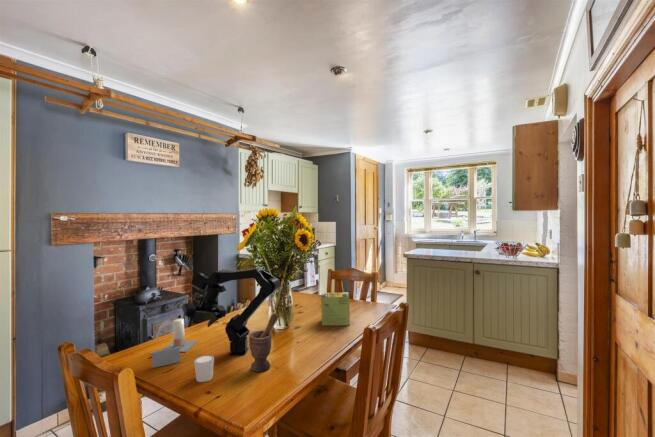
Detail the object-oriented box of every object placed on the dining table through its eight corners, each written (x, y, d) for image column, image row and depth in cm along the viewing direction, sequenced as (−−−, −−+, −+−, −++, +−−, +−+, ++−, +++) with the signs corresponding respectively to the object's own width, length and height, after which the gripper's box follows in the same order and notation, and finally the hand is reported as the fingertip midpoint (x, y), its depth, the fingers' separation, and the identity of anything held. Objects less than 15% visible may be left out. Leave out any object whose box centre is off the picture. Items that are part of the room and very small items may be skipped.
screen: (179, 360, 130) (179, 346, 130) (179, 362, 128) (179, 347, 128) (152, 366, 125) (151, 351, 125) (152, 368, 124) (151, 352, 124)
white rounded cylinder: (186, 343, 146) (185, 318, 146) (182, 347, 142) (181, 321, 142) (175, 344, 146) (175, 318, 146) (172, 348, 141) (171, 322, 141)
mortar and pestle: (266, 358, 131) (265, 310, 131) (282, 363, 126) (281, 313, 126) (245, 369, 121) (244, 318, 121) (261, 375, 116) (259, 321, 116)
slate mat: (197, 341, 150) (197, 340, 150) (185, 352, 138) (185, 351, 138) (173, 341, 150) (173, 341, 150) (159, 352, 138) (159, 351, 138)
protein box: (350, 325, 168) (349, 296, 168) (321, 325, 168) (321, 297, 168) (349, 319, 178) (348, 292, 178) (322, 319, 179) (321, 292, 179)
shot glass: (193, 384, 111) (192, 364, 111) (195, 375, 117) (195, 356, 117) (213, 381, 113) (213, 361, 113) (215, 372, 119) (214, 354, 119)
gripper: (224, 288, 152) (212, 316, 154) (185, 285, 139) (173, 315, 141) (232, 301, 144) (219, 330, 145) (192, 298, 131) (178, 330, 133)
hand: (198, 326), depth 141 cm, fingers open, 9 cm apart
